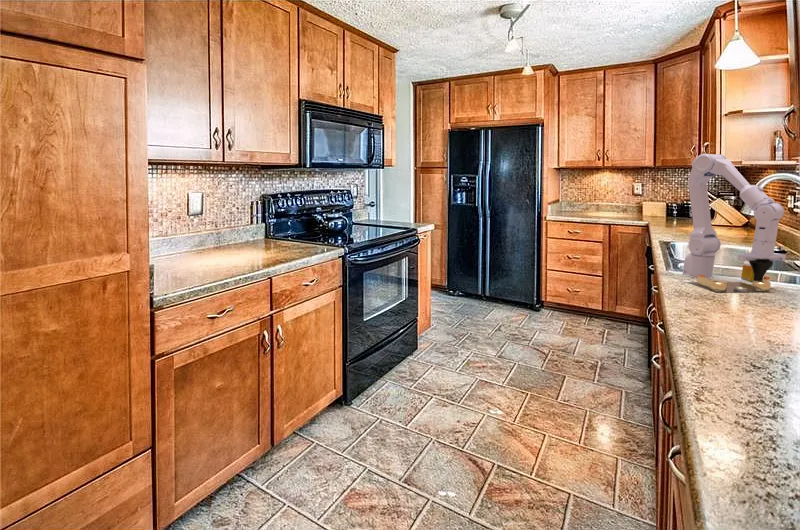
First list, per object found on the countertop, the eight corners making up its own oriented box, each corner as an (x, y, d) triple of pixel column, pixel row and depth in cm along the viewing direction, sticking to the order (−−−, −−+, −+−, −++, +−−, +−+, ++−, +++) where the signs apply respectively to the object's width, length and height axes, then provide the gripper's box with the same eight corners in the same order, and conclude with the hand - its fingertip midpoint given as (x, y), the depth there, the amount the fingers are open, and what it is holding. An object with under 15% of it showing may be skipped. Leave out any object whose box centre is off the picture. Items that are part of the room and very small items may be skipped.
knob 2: (768, 292, 148) (769, 283, 147) (750, 289, 151) (752, 280, 150) (774, 286, 156) (776, 277, 155) (758, 284, 159) (759, 275, 158)
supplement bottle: (751, 285, 164) (755, 257, 162) (736, 281, 169) (740, 254, 167) (763, 284, 166) (767, 256, 164) (748, 281, 171) (752, 254, 169)
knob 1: (729, 291, 148) (731, 282, 148) (716, 292, 148) (717, 282, 147) (705, 283, 159) (706, 274, 158) (692, 283, 159) (693, 274, 158)
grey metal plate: (686, 286, 162) (687, 278, 161) (740, 286, 163) (741, 278, 162) (715, 297, 148) (716, 289, 147) (773, 297, 149) (775, 288, 148)
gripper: (752, 242, 149) (745, 285, 152) (796, 242, 150) (789, 285, 153) (735, 239, 156) (729, 280, 159) (778, 239, 157) (771, 280, 160)
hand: (757, 282), depth 156 cm, fingers closed, pressing on knob 2
